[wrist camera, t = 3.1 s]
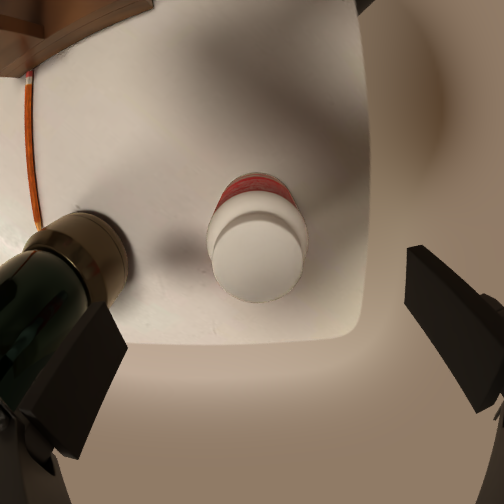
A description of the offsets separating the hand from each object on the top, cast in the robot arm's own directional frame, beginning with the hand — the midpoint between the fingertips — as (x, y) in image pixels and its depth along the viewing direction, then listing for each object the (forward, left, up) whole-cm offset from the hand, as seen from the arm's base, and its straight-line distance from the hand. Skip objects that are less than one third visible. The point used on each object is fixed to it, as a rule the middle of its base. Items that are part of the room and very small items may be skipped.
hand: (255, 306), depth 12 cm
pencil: (+21, -11, -15) cm, 28 cm away
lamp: (+17, +1, -15) cm, 22 cm away
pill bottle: (0, 0, -15) cm, 15 cm away
